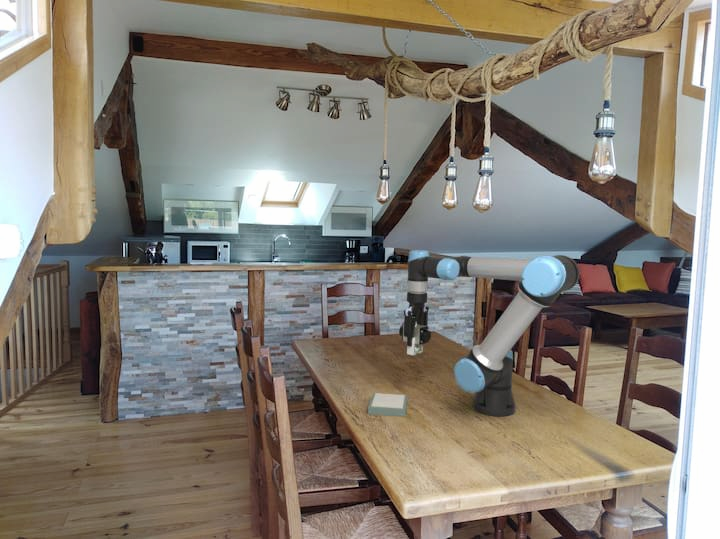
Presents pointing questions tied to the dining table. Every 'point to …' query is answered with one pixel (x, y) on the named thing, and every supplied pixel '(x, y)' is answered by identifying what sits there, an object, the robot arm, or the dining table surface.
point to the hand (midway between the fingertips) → (414, 352)
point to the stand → (388, 404)
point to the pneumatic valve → (417, 336)
